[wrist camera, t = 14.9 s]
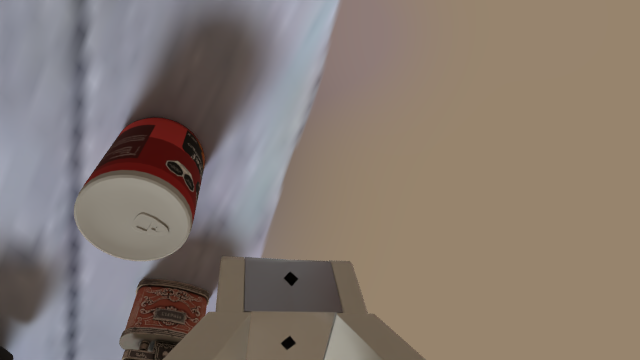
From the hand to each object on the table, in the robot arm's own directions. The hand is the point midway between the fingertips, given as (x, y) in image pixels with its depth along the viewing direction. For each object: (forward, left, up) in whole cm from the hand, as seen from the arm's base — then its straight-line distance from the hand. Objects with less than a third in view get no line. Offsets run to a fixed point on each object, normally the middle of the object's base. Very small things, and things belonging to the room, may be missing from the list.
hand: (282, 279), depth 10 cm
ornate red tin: (-7, -30, -29) cm, 43 cm away
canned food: (-8, -12, -29) cm, 33 cm away
